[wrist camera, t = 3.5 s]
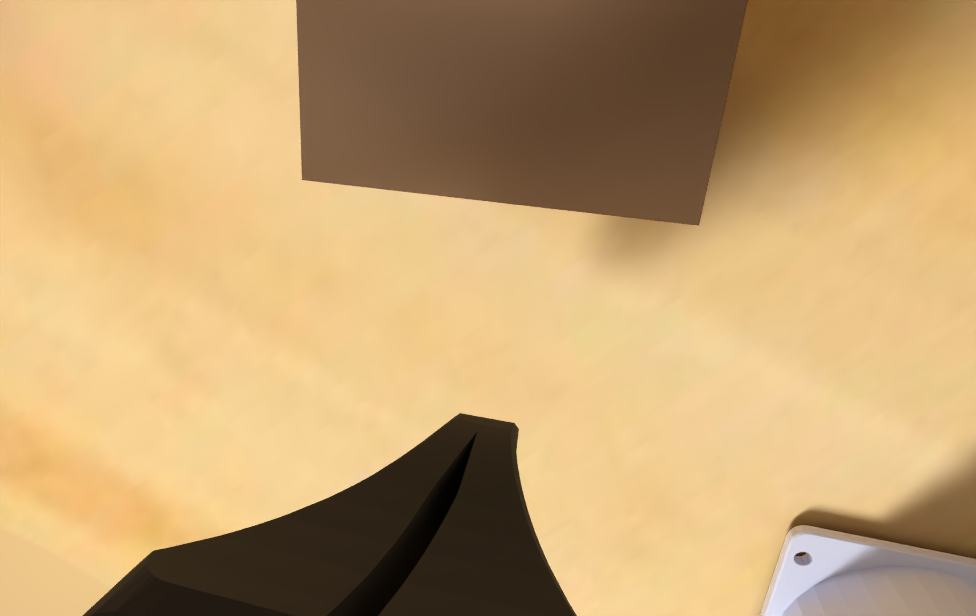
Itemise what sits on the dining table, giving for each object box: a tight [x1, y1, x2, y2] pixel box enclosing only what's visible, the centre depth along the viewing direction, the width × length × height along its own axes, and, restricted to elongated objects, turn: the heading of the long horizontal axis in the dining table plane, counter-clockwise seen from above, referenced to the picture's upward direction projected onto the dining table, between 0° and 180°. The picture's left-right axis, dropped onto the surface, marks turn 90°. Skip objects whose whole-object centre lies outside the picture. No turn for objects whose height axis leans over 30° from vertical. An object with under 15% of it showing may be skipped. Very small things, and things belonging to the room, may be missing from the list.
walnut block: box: [296, 0, 748, 225], centre depth 11 cm, size 4×6×8 cm, turn 85°
